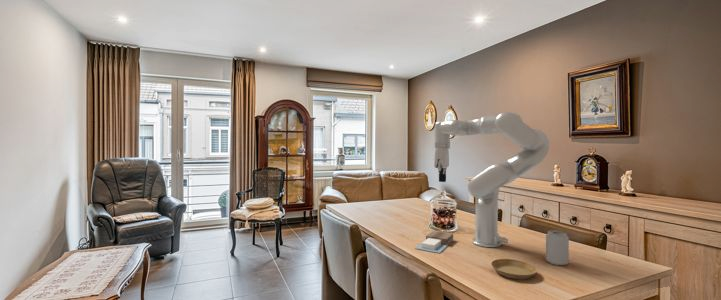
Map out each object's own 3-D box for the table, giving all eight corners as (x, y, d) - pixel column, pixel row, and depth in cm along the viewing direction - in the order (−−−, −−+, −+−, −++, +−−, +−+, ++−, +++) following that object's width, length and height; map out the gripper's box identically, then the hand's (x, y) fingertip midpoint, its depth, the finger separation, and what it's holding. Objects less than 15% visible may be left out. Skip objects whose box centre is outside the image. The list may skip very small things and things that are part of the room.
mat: (447, 246, 143) (447, 245, 143) (439, 253, 133) (439, 252, 133) (424, 242, 149) (424, 241, 149) (415, 249, 139) (415, 248, 139)
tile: (441, 244, 144) (441, 239, 144) (434, 249, 137) (434, 245, 137) (428, 242, 148) (428, 237, 148) (421, 247, 140) (421, 243, 140)
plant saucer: (538, 270, 115) (538, 263, 115) (535, 286, 103) (535, 278, 103) (495, 262, 123) (495, 256, 123) (487, 276, 111) (487, 268, 111)
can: (565, 260, 124) (565, 230, 124) (571, 267, 117) (571, 235, 117) (543, 258, 127) (543, 228, 126) (548, 265, 120) (548, 233, 119)
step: (453, 240, 152) (453, 233, 152) (446, 245, 143) (446, 239, 143) (433, 236, 157) (433, 231, 157) (425, 242, 149) (425, 236, 149)
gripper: (439, 145, 169) (439, 179, 169) (430, 145, 156) (430, 182, 157) (453, 145, 165) (453, 180, 165) (445, 145, 152) (445, 183, 153)
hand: (442, 181), depth 161 cm, fingers closed
